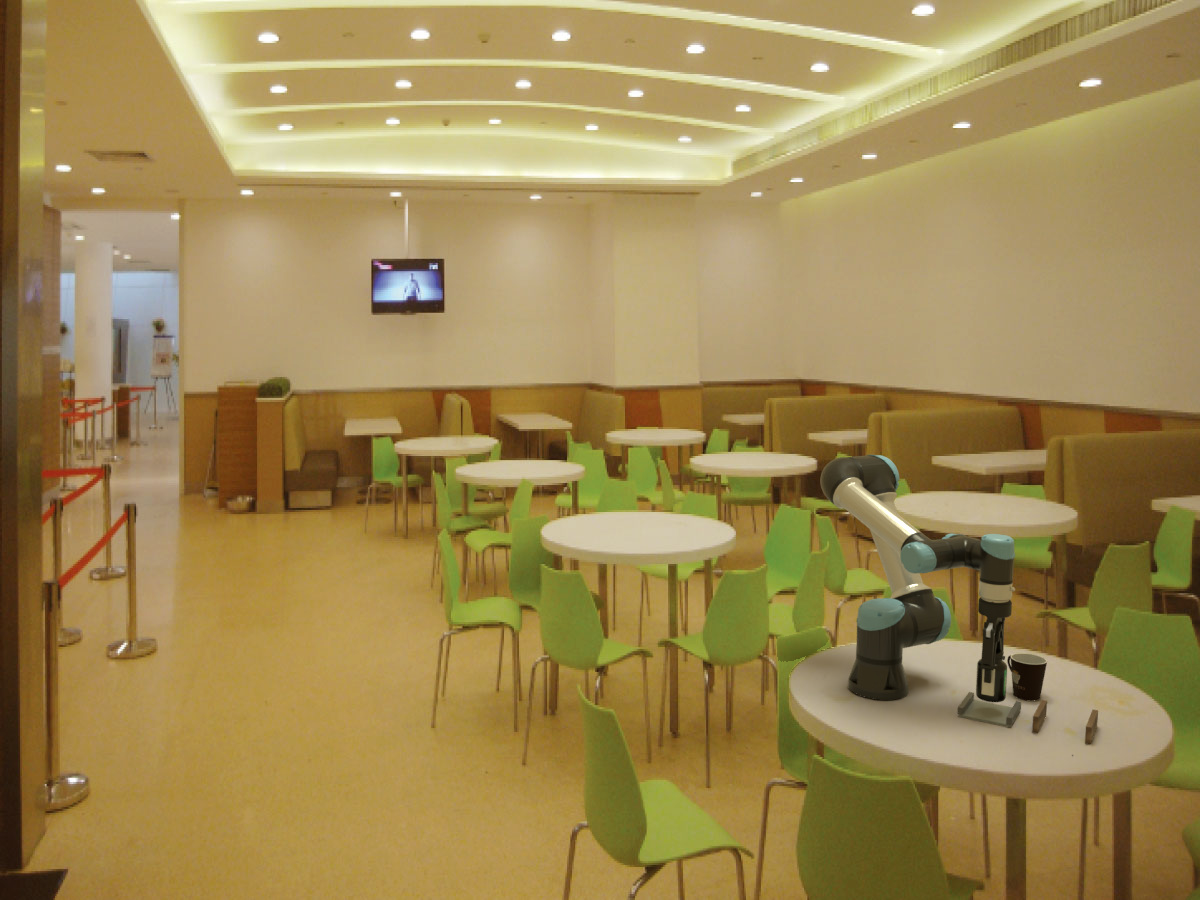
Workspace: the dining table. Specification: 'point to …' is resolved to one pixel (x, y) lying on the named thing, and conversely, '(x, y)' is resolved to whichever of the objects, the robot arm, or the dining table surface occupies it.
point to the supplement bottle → (999, 679)
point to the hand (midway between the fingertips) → (991, 689)
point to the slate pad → (988, 711)
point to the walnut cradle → (1041, 714)
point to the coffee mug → (1027, 675)
